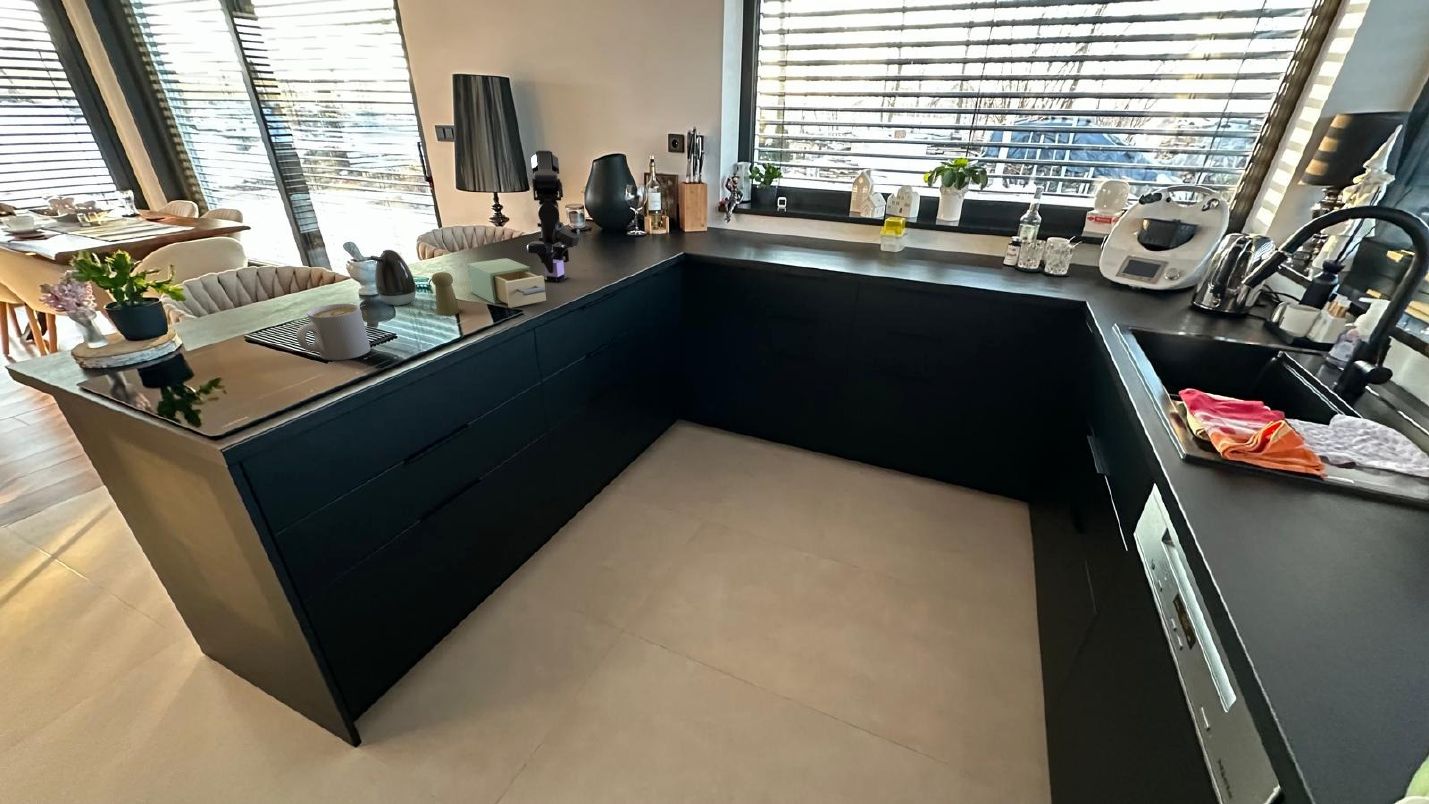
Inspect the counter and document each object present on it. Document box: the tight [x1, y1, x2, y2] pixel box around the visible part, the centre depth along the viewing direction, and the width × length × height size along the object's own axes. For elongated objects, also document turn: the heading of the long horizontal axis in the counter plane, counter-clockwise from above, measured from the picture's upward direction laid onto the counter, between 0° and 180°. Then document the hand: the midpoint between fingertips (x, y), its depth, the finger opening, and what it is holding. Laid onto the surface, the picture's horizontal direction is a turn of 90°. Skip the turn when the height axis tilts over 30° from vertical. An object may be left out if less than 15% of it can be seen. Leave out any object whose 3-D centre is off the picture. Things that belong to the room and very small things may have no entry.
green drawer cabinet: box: [467, 257, 532, 305], centre depth 170 cm, size 15×13×9 cm
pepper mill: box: [431, 271, 461, 316], centre depth 153 cm, size 6×6×11 cm
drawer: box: [493, 271, 547, 309], centre depth 163 cm, size 18×11×7 cm, turn 45°
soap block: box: [544, 260, 565, 277], centre depth 172 cm, size 4×4×4 cm
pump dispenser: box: [369, 249, 418, 306], centre depth 157 cm, size 10×10×15 cm
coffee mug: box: [296, 303, 372, 361], centre depth 124 cm, size 13×10×10 cm
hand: (554, 271), depth 173 cm, fingers closed on soap block, 4 cm apart
